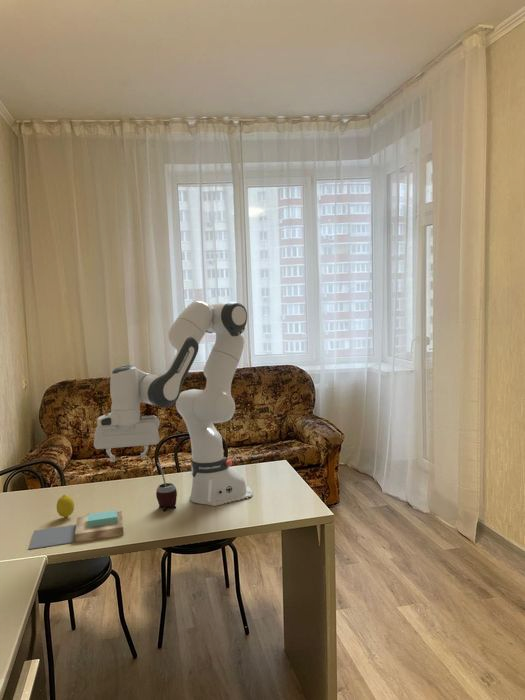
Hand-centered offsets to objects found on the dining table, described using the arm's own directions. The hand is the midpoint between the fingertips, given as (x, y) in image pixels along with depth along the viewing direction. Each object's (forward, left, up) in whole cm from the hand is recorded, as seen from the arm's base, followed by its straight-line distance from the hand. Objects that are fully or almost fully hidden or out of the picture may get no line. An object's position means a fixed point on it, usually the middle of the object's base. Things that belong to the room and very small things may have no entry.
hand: (128, 460), depth 172 cm
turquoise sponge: (+9, +1, -19) cm, 21 cm away
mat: (+23, +1, -21) cm, 31 cm away
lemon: (+21, -14, -21) cm, 33 cm away
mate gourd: (-12, -10, -21) cm, 26 cm away
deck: (+10, +1, -21) cm, 23 cm away
